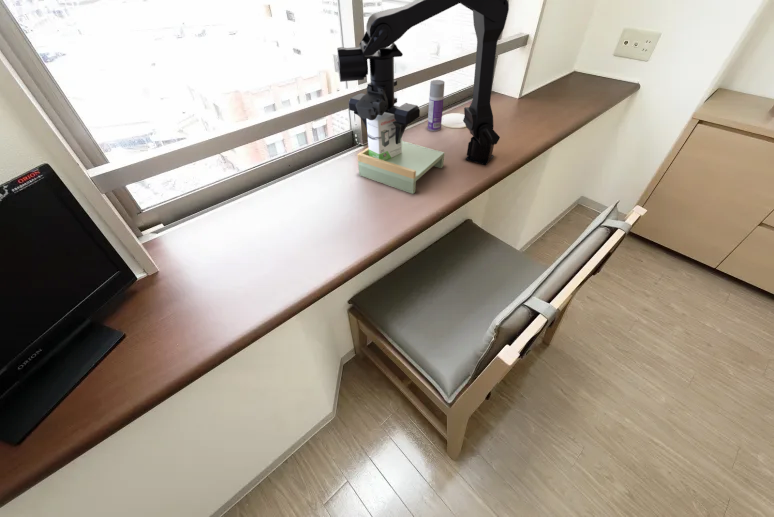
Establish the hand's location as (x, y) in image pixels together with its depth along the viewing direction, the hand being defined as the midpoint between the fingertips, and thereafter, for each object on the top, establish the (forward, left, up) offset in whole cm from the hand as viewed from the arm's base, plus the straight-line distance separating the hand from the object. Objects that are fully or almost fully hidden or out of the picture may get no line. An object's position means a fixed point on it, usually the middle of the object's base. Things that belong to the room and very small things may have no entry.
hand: (384, 140), depth 92 cm
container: (+2, -33, -9) cm, 34 cm away
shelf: (-4, -2, -9) cm, 10 cm away
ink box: (0, 0, -5) cm, 5 cm away
